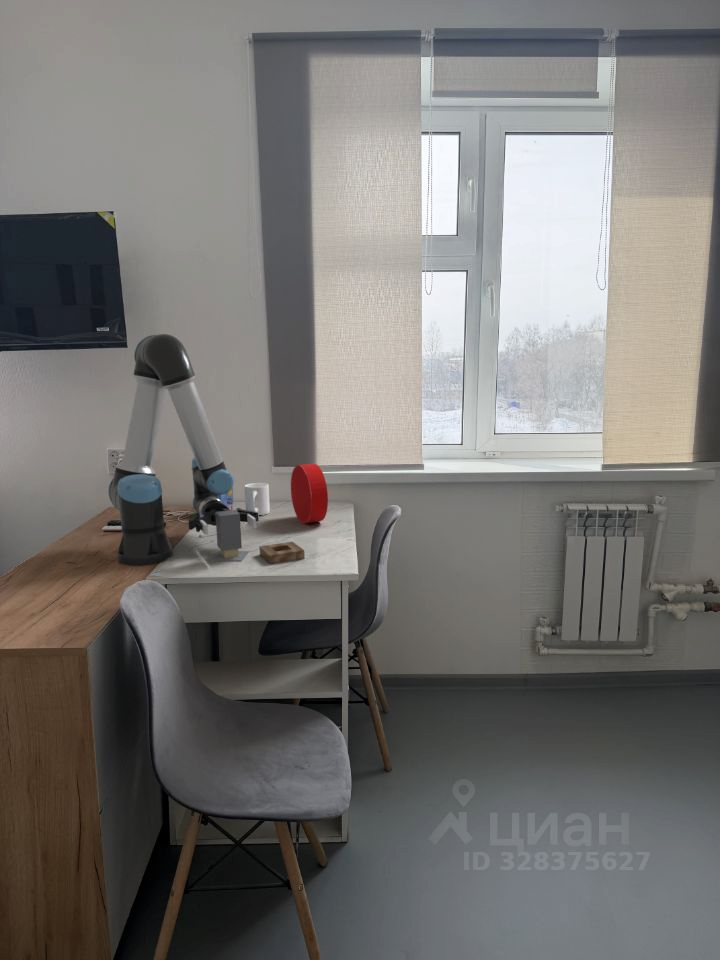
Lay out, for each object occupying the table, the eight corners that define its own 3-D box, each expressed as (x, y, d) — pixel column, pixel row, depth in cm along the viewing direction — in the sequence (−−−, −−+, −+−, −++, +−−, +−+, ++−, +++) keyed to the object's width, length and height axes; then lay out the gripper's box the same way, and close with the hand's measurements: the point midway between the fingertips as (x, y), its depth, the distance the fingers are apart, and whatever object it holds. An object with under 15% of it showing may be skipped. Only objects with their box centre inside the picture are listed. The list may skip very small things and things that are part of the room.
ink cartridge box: (222, 516, 240) (219, 477, 237) (208, 515, 242) (205, 476, 239) (234, 510, 249) (232, 472, 247) (221, 509, 251) (219, 471, 248)
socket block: (270, 565, 182) (269, 555, 181) (259, 556, 191) (259, 546, 190) (304, 560, 186) (304, 550, 185) (292, 551, 195) (292, 541, 194)
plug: (222, 559, 186) (219, 516, 184) (218, 554, 191) (215, 512, 189) (242, 556, 188) (239, 513, 186) (237, 551, 193) (234, 509, 191)
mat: (210, 562, 186) (209, 560, 186) (219, 553, 195) (219, 550, 195) (241, 563, 185) (241, 560, 185) (249, 553, 194) (249, 550, 194)
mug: (241, 519, 236) (240, 489, 234) (248, 511, 247) (247, 482, 245) (265, 518, 235) (264, 489, 233) (271, 510, 247) (270, 482, 245)
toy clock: (328, 527, 222) (326, 467, 218) (312, 529, 219) (310, 469, 216) (307, 514, 240) (305, 459, 236) (291, 516, 237) (289, 461, 233)
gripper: (254, 518, 210) (274, 533, 191) (173, 528, 200) (186, 545, 181) (252, 495, 208) (273, 508, 189) (171, 504, 198) (184, 519, 179)
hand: (231, 526), depth 185 cm, fingers open, 13 cm apart
